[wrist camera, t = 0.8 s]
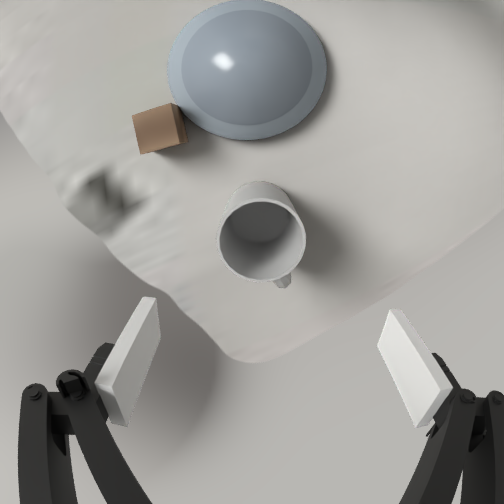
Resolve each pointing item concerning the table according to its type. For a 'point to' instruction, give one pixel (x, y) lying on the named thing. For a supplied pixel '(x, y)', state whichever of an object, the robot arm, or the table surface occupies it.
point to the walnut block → (159, 128)
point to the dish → (247, 69)
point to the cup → (261, 234)
